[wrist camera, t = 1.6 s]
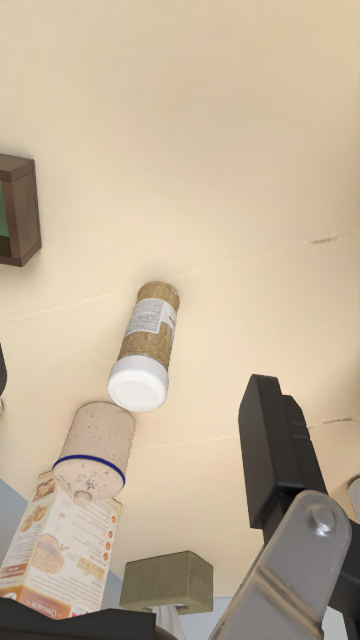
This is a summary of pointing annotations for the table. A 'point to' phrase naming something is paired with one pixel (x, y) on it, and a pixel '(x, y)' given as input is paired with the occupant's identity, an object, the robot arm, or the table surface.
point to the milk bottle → (1, 407)
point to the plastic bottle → (355, 497)
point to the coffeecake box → (60, 553)
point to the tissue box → (169, 588)
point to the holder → (18, 211)
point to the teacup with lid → (95, 453)
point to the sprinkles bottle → (146, 350)
